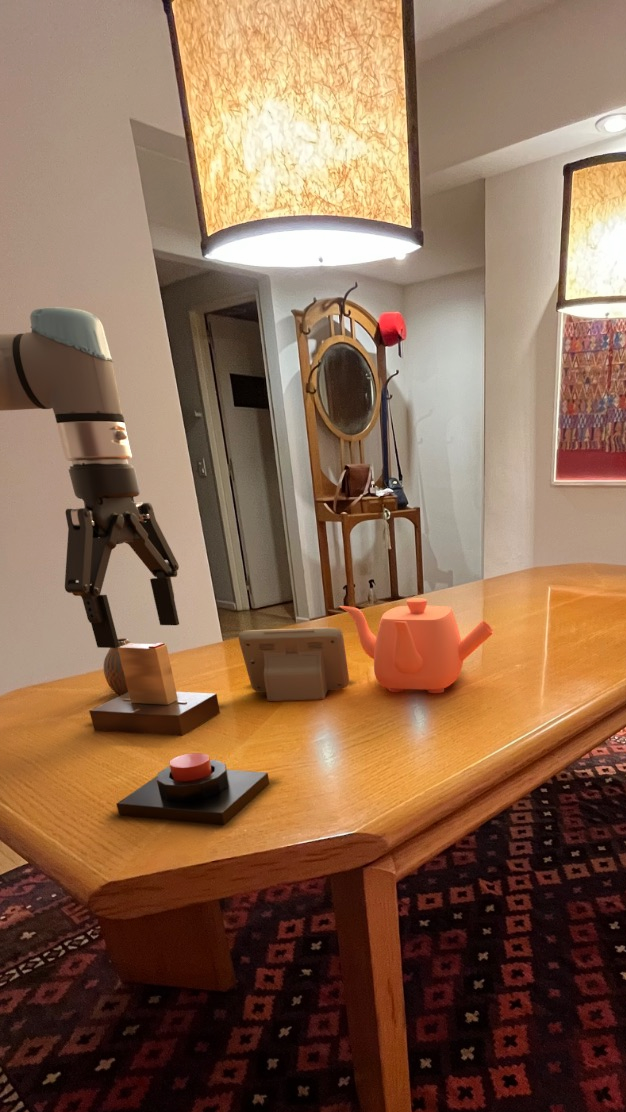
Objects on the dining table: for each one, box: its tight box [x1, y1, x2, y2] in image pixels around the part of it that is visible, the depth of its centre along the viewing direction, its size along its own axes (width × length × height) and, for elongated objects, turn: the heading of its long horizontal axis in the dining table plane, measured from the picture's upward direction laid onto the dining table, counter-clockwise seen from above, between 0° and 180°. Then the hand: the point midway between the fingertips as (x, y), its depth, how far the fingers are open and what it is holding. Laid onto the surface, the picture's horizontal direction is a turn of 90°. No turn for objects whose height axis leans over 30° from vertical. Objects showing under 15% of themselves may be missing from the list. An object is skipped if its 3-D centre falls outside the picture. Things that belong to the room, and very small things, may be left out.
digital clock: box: [238, 627, 350, 702], centre depth 106 cm, size 16×9×11 cm, turn 81°
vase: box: [103, 637, 131, 696], centre depth 109 cm, size 7×7×9 cm
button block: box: [116, 759, 270, 826], centre depth 72 cm, size 12×10×4 cm
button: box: [169, 752, 212, 781], centre depth 71 cm, size 4×4×2 cm
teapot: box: [339, 597, 495, 694], centre depth 109 cm, size 18×18×14 cm
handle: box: [118, 642, 178, 705], centre depth 95 cm, size 6×2×8 cm, turn 77°
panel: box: [88, 691, 221, 737], centre depth 98 cm, size 14×10×3 cm
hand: (141, 635), depth 93 cm, fingers open, 13 cm apart
